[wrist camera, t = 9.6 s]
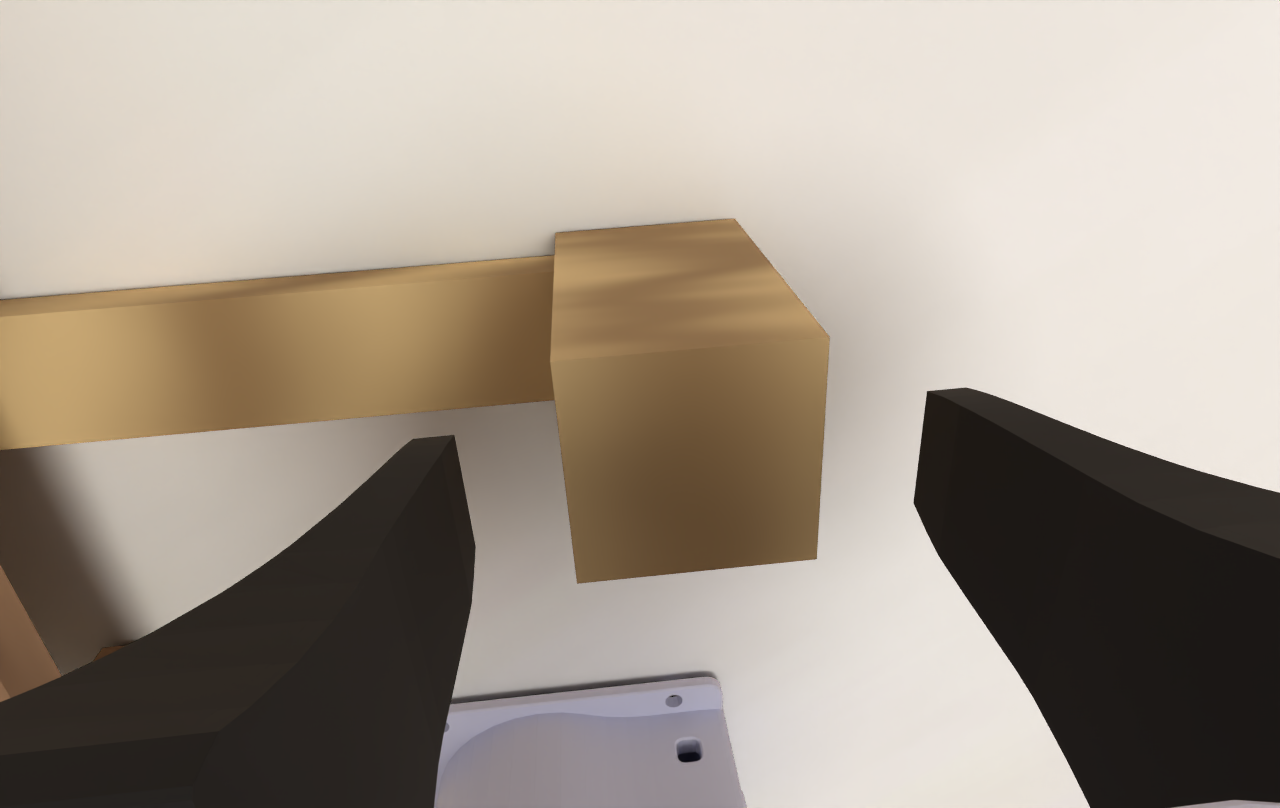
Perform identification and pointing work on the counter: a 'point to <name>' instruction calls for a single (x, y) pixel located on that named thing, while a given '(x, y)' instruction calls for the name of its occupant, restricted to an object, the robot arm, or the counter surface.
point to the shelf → (24, 647)
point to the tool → (486, 377)
